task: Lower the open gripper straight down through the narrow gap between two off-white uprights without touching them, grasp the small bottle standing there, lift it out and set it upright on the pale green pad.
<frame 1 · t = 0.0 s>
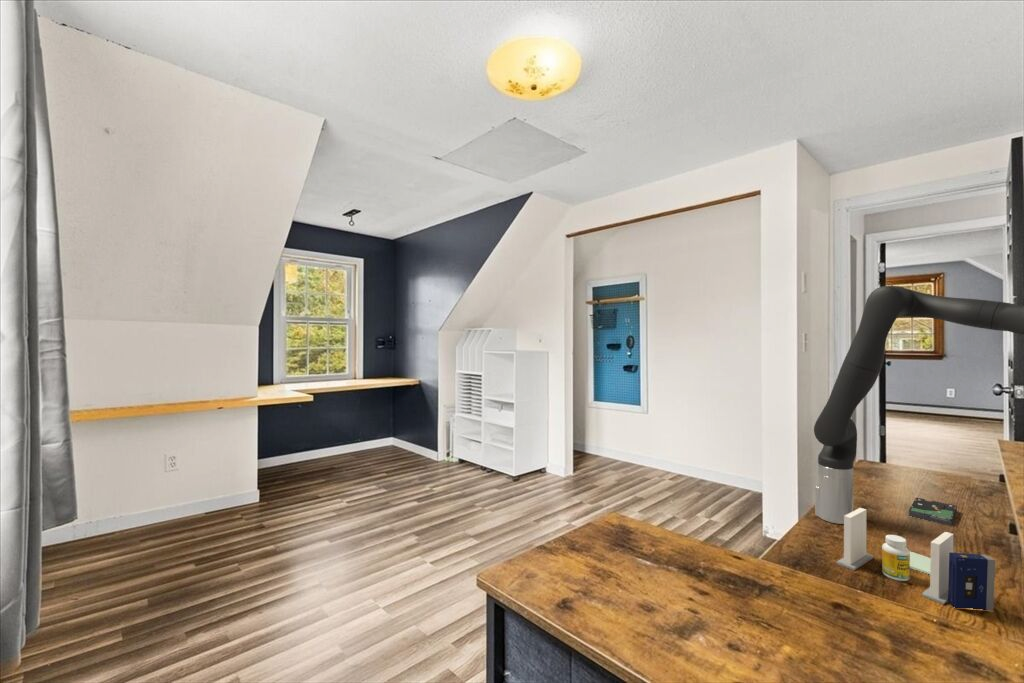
cassette player: (970, 608, 103), on the table
supplement bottle: (895, 576, 116), on the table
disk drive: (932, 516, 151), on the table
pad: (923, 565, 121), on the table
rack: (895, 575, 116), on the table
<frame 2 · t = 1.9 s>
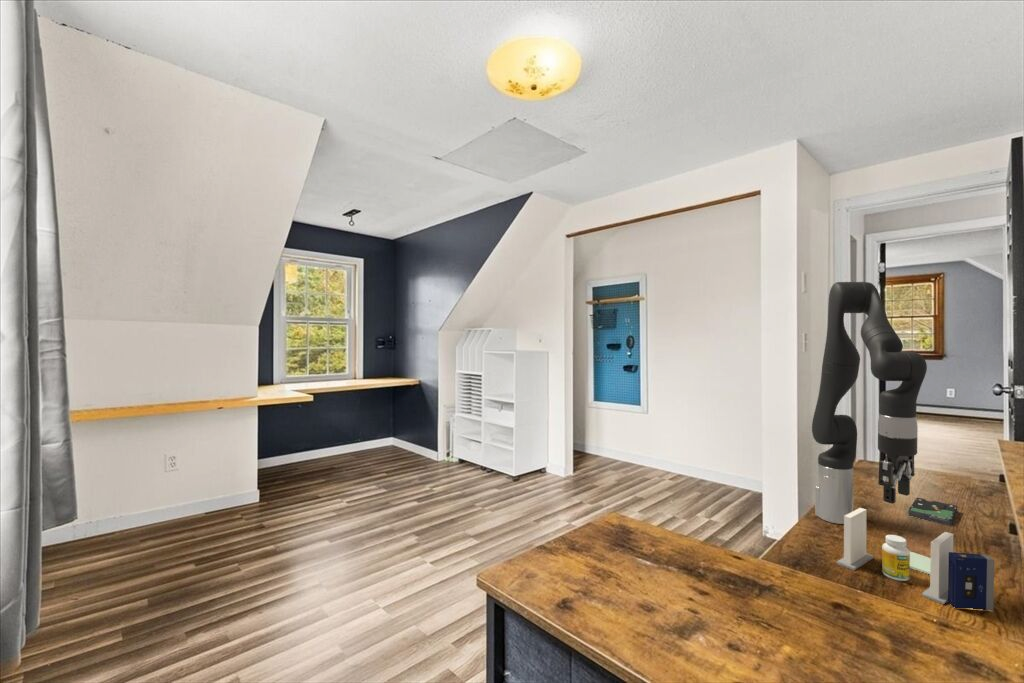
hand: (896, 498, 116), 20 cm above the table, tool pointing down, fingers open, 8 cm apart
nothing on the table moved.
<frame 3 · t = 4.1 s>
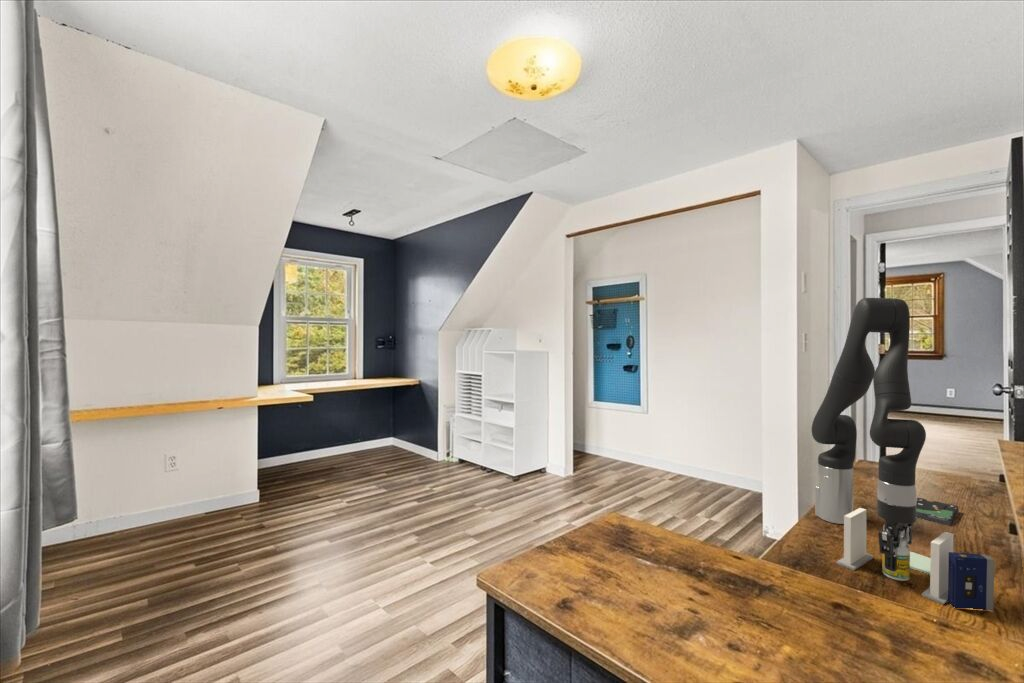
hand: (895, 565, 116), 3 cm above the table, tool pointing down, fingers closed on supplement bottle, 5 cm apart
supplement bottle: (895, 576, 116), on the table, touching gripper
everything else where it was.
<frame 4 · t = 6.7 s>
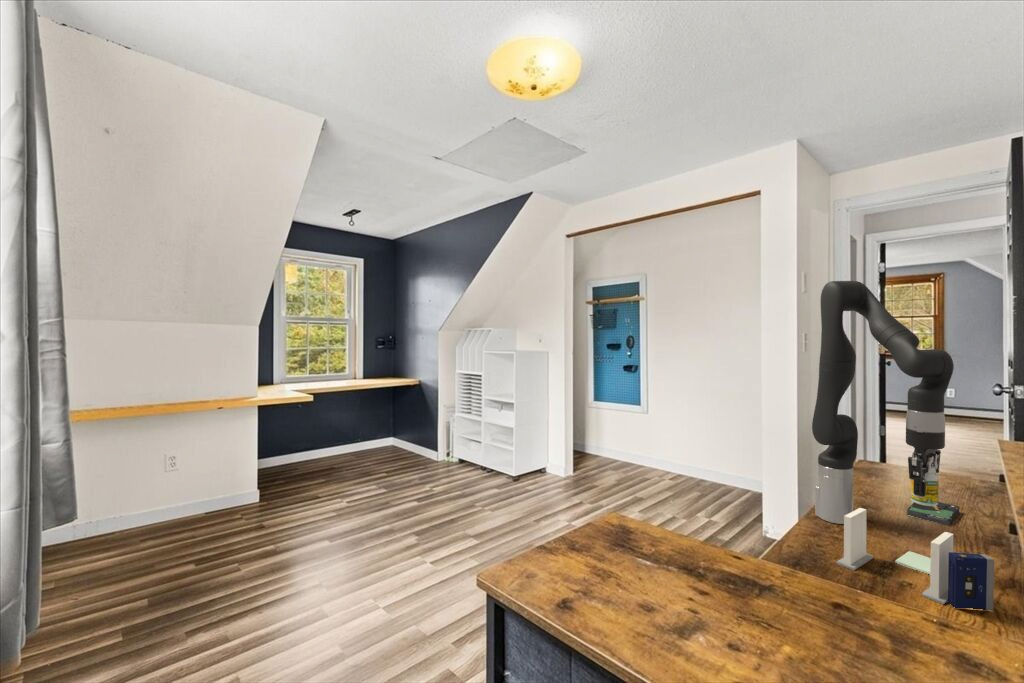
hand: (924, 492, 120), 19 cm above the table, tool pointing down, fingers closed on supplement bottle, 5 cm apart
supplement bottle: (924, 503, 120), point 16 cm above the table, touching gripper
everything else where it was.
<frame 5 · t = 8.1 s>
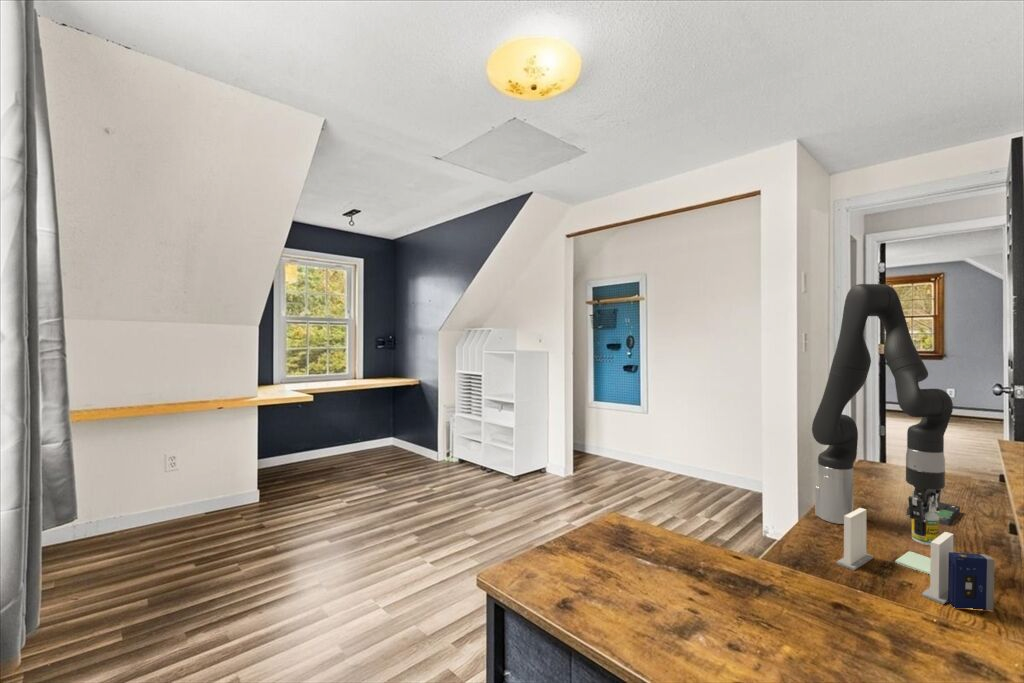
hand: (924, 531, 120), 9 cm above the table, tool pointing down, fingers closed on supplement bottle, 5 cm apart
supplement bottle: (925, 541, 120), point 6 cm above the table, touching gripper
everything else where it was.
when the fingers open (4 cm above the table, at t = 9.3 s): supplement bottle drops 1 cm, resting on pad.
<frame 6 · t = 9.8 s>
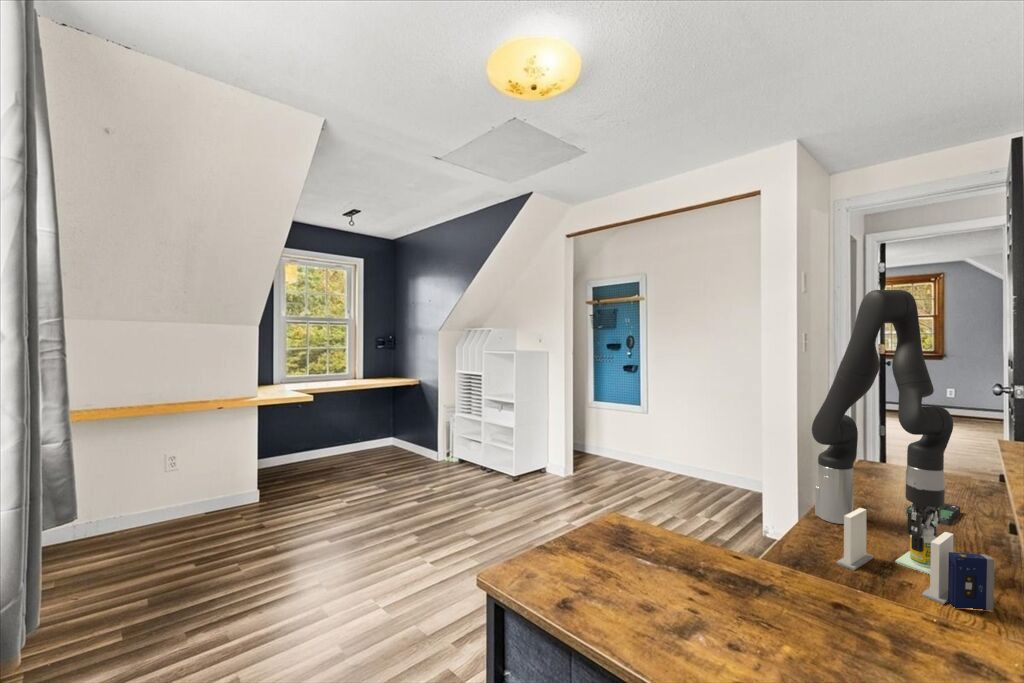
hand: (923, 545, 121), 5 cm above the table, tool pointing down, fingers open, 8 cm apart
supplement bottle: (923, 563, 121), resting on pad
everything else where it was.
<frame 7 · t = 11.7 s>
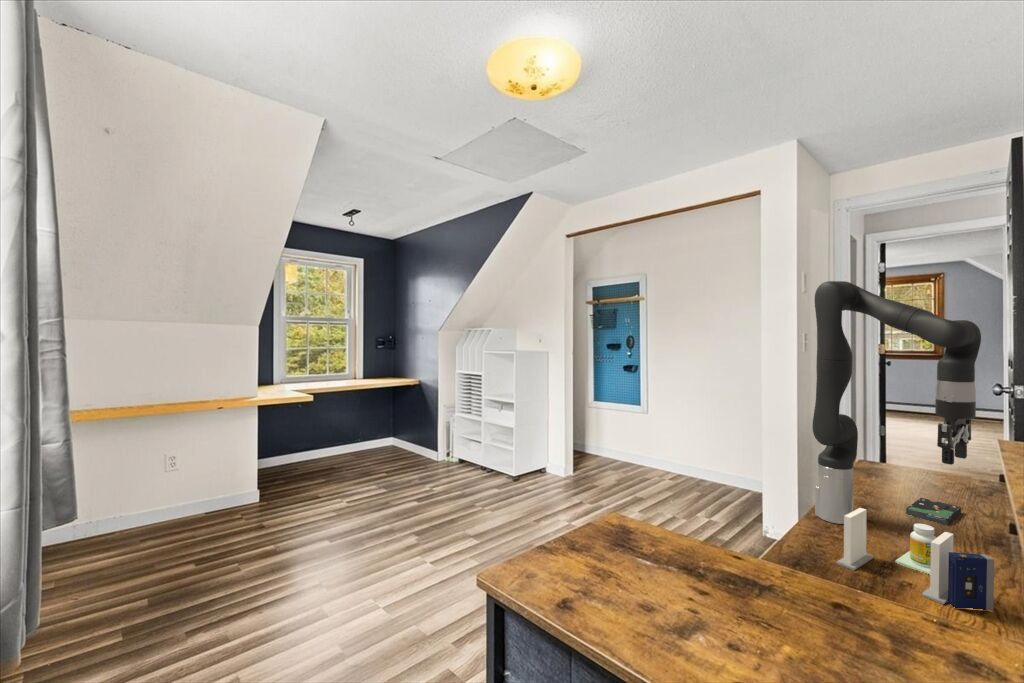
hand: (954, 460, 121), 27 cm above the table, tool pointing down, fingers open, 8 cm apart
nothing on the table moved.
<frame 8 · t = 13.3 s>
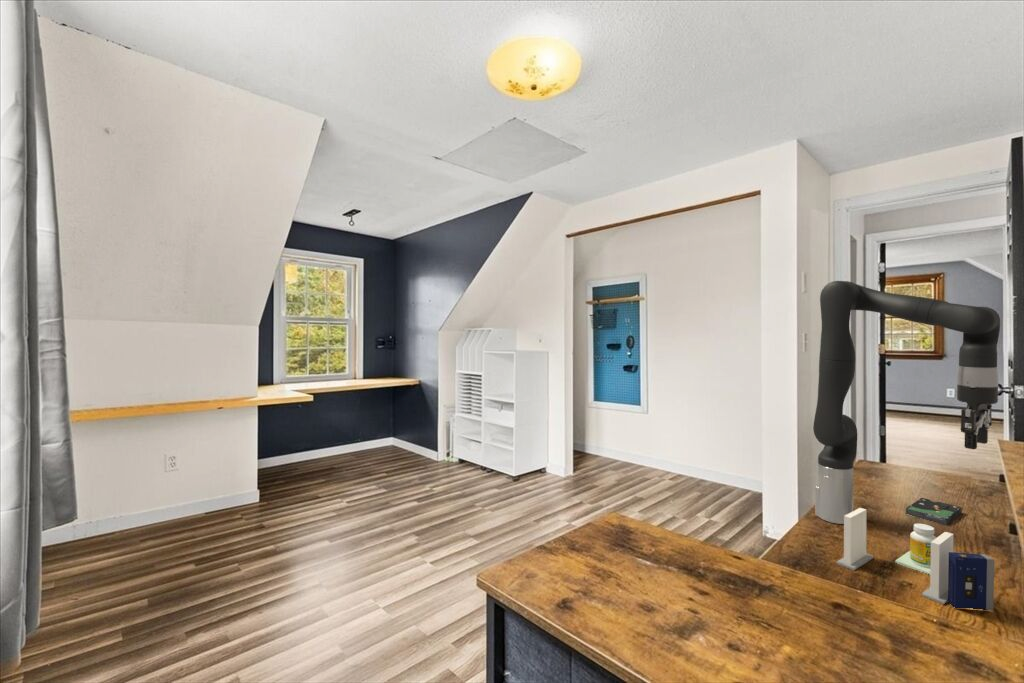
hand: (976, 445, 122), 30 cm above the table, tool pointing down, fingers open, 8 cm apart
nothing on the table moved.
at the end: supplement bottle 0.0 cm from the pad (horizontally); supplement bottle tilted 0°; supplement bottle touching pad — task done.
